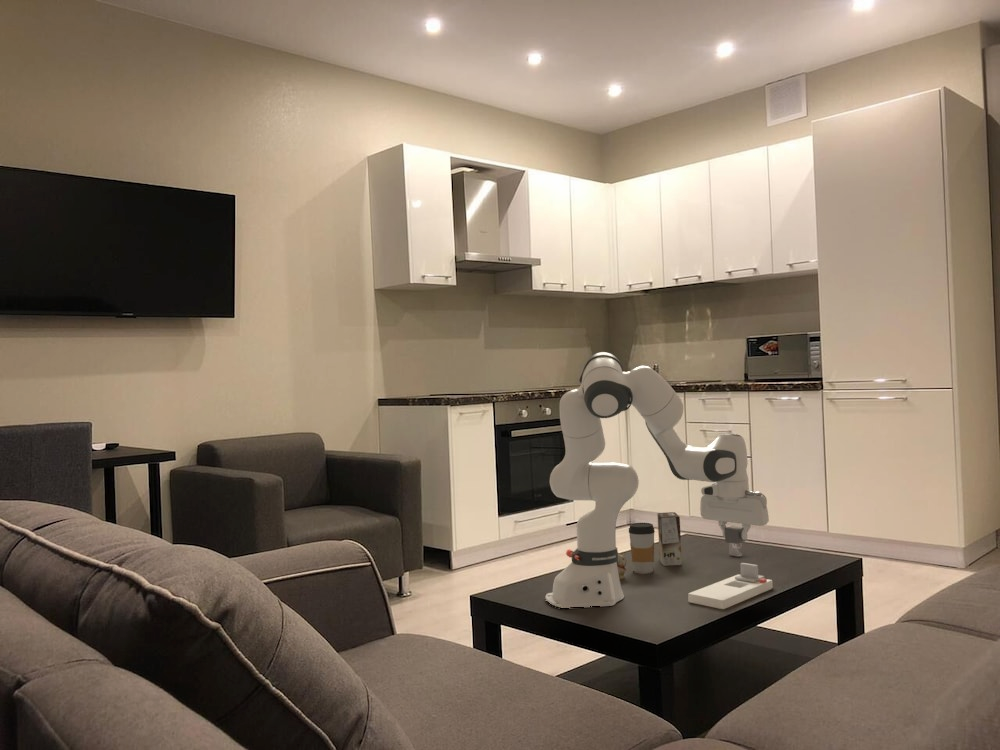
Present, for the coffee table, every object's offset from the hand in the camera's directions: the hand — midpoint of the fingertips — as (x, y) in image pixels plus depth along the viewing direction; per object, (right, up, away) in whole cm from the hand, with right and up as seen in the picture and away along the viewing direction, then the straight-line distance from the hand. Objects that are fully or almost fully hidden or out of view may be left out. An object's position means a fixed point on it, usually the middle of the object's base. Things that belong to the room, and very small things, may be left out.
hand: (734, 537), depth 231 cm
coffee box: (-10, -16, +39) cm, 44 cm away
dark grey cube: (0, -1, 0) cm, 1 cm away
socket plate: (-2, -16, -2) cm, 16 cm away
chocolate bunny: (-32, -18, +22) cm, 42 cm away
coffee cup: (-21, -17, +29) cm, 40 cm away
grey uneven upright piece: (+19, -16, +46) cm, 52 cm away
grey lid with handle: (+6, -13, +5) cm, 15 cm away
